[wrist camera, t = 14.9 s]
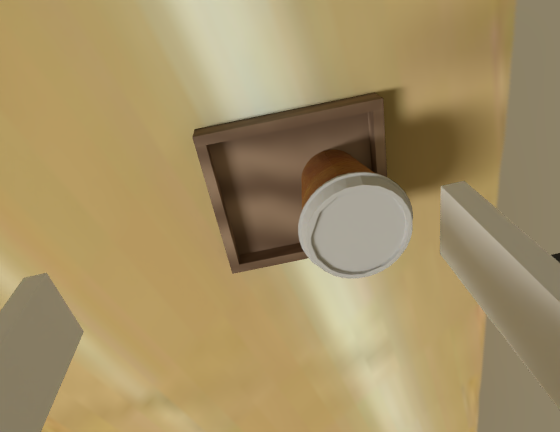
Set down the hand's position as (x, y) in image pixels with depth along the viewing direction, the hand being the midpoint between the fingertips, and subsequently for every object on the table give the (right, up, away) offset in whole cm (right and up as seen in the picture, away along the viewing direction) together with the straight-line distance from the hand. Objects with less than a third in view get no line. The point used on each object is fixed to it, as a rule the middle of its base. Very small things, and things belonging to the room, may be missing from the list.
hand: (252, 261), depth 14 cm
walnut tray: (+3, +5, +30) cm, 30 cm away
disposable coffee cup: (+6, +6, +29) cm, 30 cm away
